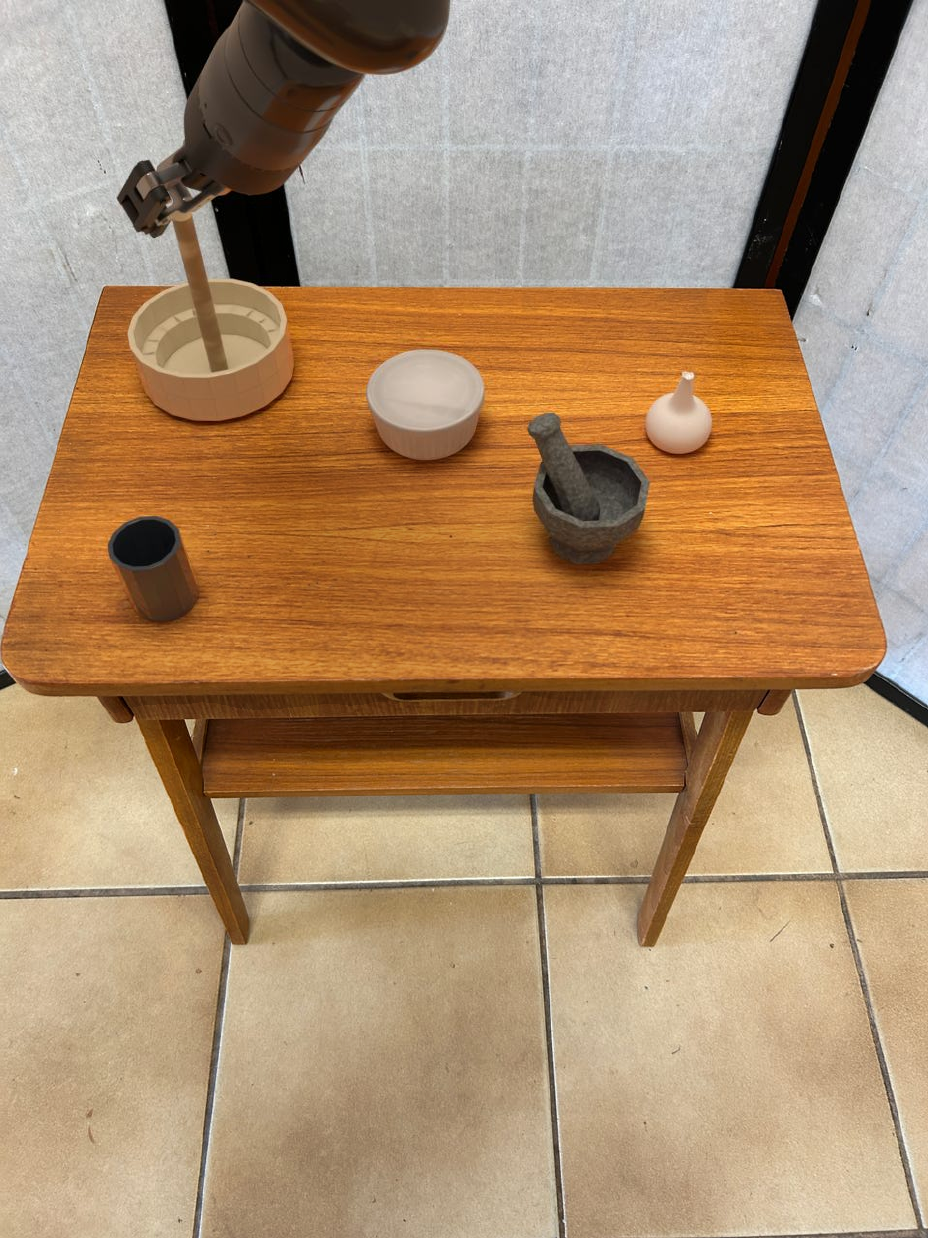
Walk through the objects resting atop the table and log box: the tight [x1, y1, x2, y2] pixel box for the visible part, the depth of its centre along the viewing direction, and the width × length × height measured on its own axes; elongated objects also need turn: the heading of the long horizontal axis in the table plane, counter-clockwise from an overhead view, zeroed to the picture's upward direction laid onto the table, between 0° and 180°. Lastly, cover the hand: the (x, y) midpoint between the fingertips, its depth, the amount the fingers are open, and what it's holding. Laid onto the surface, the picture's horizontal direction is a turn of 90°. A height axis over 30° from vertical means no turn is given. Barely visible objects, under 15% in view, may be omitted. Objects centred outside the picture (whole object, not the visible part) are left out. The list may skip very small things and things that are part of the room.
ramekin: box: [365, 349, 486, 461], centre depth 91 cm, size 11×11×5 cm
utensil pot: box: [107, 515, 200, 623], centre depth 78 cm, size 6×6×7 cm
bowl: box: [126, 278, 295, 422], centre depth 95 cm, size 15×15×6 cm
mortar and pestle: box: [526, 412, 651, 565], centre depth 81 cm, size 11×9×12 cm
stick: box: [171, 212, 228, 373], centre depth 90 cm, size 2×2×17 cm
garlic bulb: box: [644, 371, 713, 455], centre depth 90 cm, size 6×6×8 cm
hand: (197, 202), depth 72 cm, fingers open, 8 cm apart
